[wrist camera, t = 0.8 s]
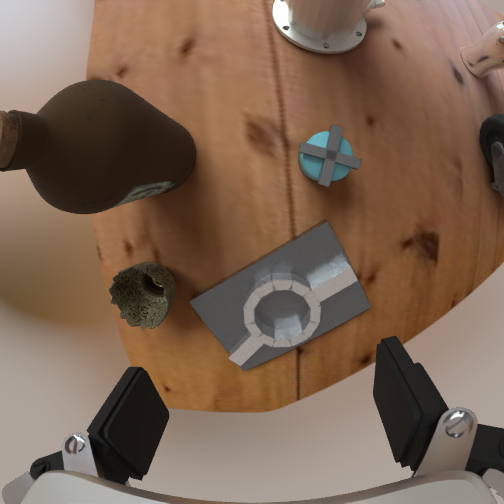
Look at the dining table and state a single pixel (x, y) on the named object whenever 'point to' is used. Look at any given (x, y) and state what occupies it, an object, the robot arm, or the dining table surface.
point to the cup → (143, 294)
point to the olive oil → (96, 148)
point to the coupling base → (283, 298)
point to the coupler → (327, 157)
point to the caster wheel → (494, 148)
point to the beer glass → (485, 52)
